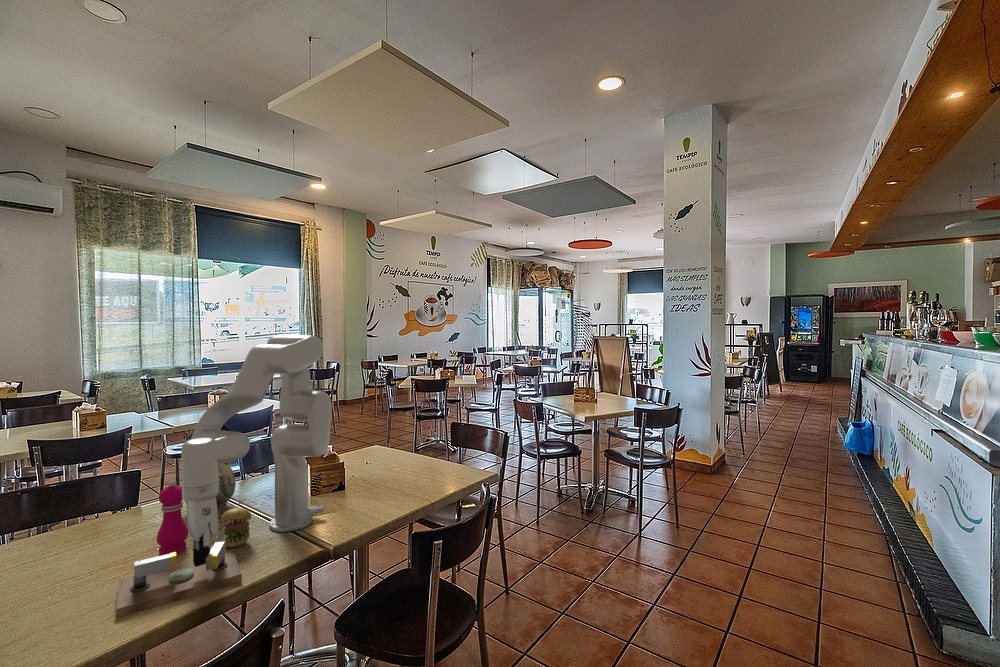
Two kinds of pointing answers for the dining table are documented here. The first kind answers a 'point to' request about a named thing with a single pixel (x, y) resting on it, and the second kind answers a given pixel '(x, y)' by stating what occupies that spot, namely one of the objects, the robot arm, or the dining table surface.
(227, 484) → the ceramic jug
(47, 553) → the dining table surface
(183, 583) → the level plate
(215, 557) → the gold-tipped grey bar
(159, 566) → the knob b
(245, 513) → the hamburger
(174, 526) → the pepper mill
